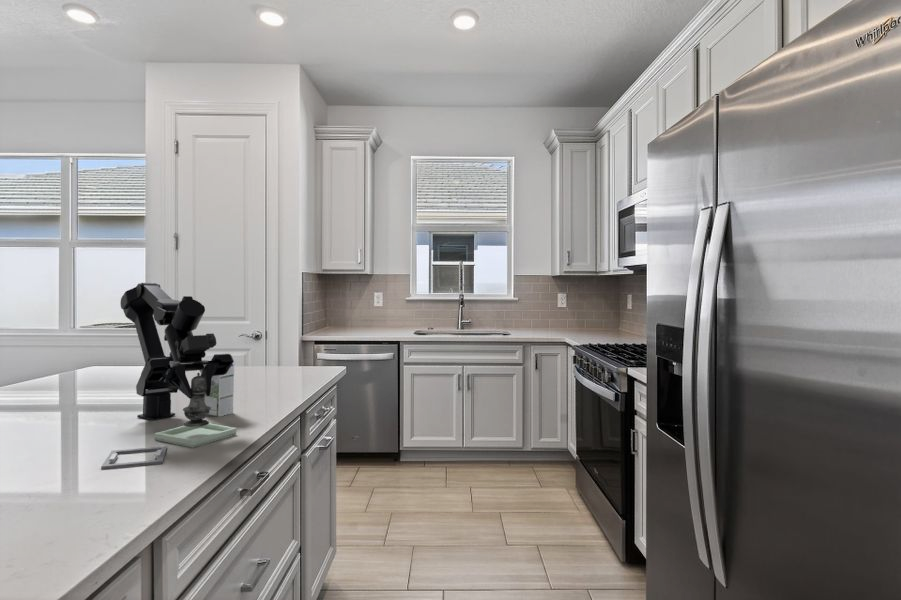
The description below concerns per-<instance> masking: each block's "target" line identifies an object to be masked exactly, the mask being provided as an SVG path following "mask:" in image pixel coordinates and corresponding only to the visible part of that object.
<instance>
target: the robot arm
mask: <svg viewBox="0 0 901 600" xmlns="http://www.w3.org/2000/svg"><path fill="white" fill-rule="evenodd" d="M120 308H121V310H122V311H123V313H124V316H125V318H127V319H128V320H129V321H131V322H132V323H133V324H134V326H135V330H136V333H137V337H138V338H137V339H138V341H139V345H140V348H141V349H140V350H141V351H142V356H143V360H144V366H143V368H142V371H141V373H140V376H139V379H138V381H137V384H136V386H135V390H136V394H137V395H138V396H140V397H142V398H143V401H142V413H141V414H137V416H136V417H137V418H141V419H146V420H152V421H156V420H159V419H160V420H161V419H164V418H168V417H172V416H175V415H176V413H175V412H172V399H171V397H172V395H171V394H173V393H175V394H177V393H178V391H179V392H181V393H182V394H183V395H185V397H187V398H188V399H190V398H192V396H193V395H192V390H191V384H190V383H189V380H188V378H187V375H186V372H193V371H194V372H195V371H196V372H197V371H199V373H200V376H201V377H203V378H204V379H205V391H206V393H205V394H206V395H207V396H209V395H210V392H211V379H212V377H213V376H218V375H224V374H226V373H227V372H228V370H229V368H230V367H231V365H232V363H233V362H234V363H235V361H234V358H233V355H232V354H231V353H221V354H219V353H218V354H215V353H214V354H213V355H212V358H211V360H207V359H206V360H203V358H205V357H206V355H207V353H206V351H208V350H210V349H212V348H214V347H215V346H216V345H217V338H216V336H215V334H214V333H206V334H205V335H204V334H202V335H201V334H199V335H194V334H193V331H194V330H197V327H198V326H199V324H200V322H201V321H202V317H203V316H204V314H205V311H206V309H205V306H204V305H203V304H202V302H200V301H198V300H196V299H194V298H193V296H189V295H188V296H186V295H184V296H182V299H181V300H177V299H172V297H170V295H168V294H167V293H166V292H165V291H164V290H163V289H162V288H161V285H160V284H158V283H156V282H155V283H154V282H140V283H137V285H136V286H135V287H132V288H130V289H127V290H126V291H125V292H124V294H123V295H122V296H121V297H120ZM156 323H157V325H158V326H166V327H165V329H164V337H163V339H164V340H163V341H166V342H167V344H168V347H169V349H170V352H169V356H166V355H165V352H164V348H163V346H162V343H161V339H160V336H159V331H158V329H157V325H156Z"/></svg>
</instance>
